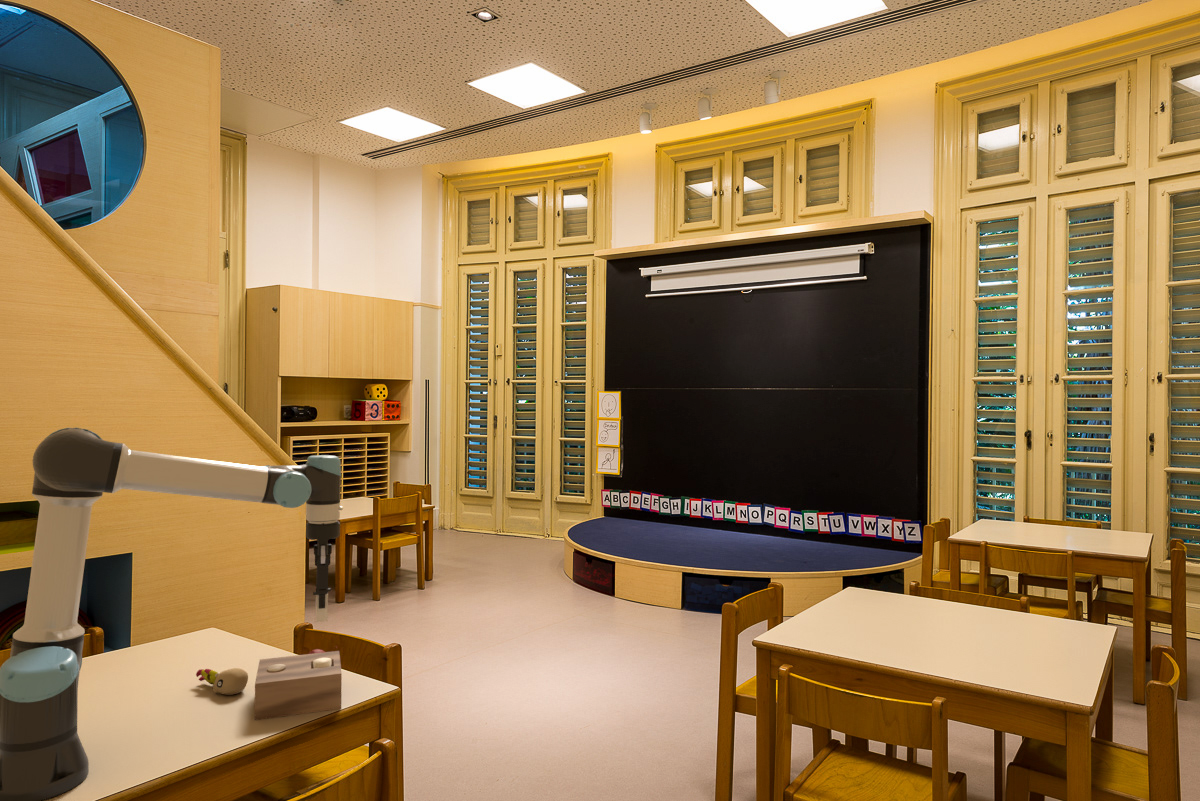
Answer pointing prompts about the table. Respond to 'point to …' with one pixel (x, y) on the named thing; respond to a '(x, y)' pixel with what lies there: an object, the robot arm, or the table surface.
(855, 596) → the table surface
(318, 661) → the dowel
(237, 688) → the toy
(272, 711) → the socket block
